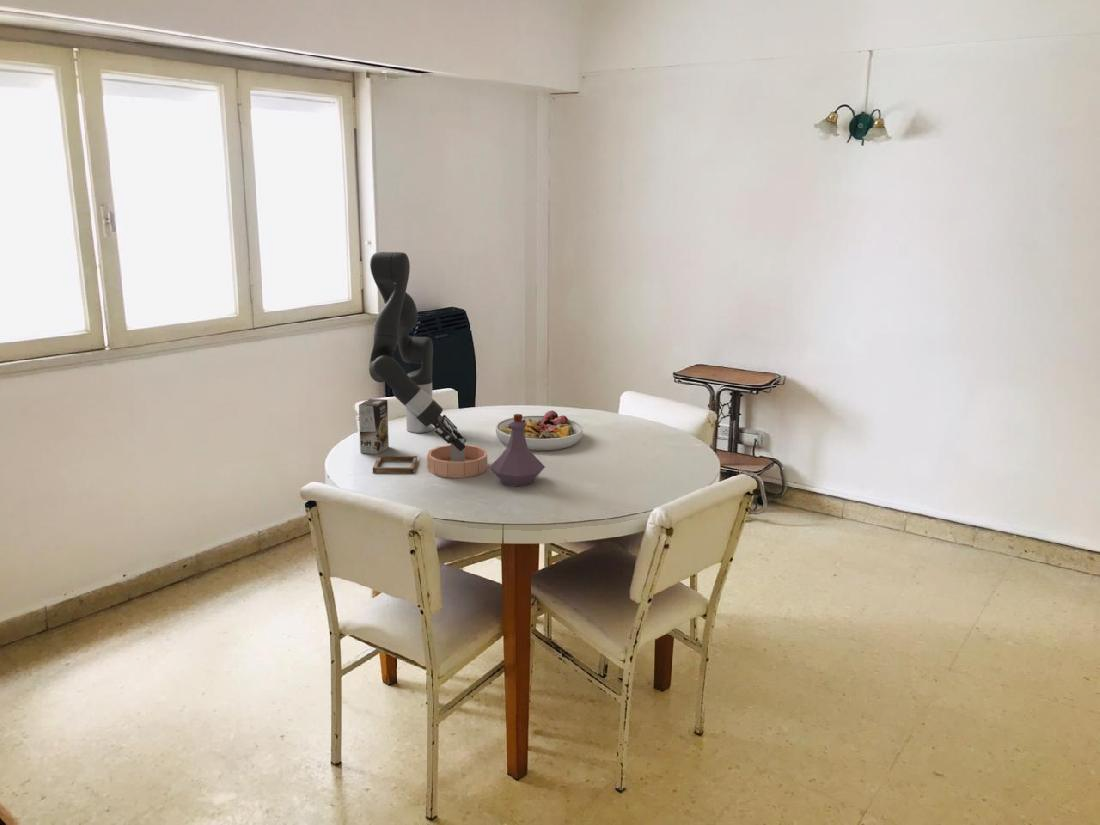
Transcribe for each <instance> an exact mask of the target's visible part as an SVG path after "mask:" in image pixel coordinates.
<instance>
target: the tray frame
mask: <svg viewBox="0 0 1100 825" xmlns="http://www.w3.org/2000/svg"><path fill="white" fill-rule="evenodd" d="M418 459H419V458H418V455H378V457H377V459H376V461H375V462H374V465H373V467H372V474H414V472H415V470H416V468H417V467H416V466H417V464H418V461H419V460H418ZM382 462H395V463H396V462H399V463H400V462H403V463H404V462H408V463H409V462H411V464H410V466H409V467H406V466H405V467H401V466H400V467H399V466H398V467H397V466H396V467H395V466H393V467H392V466H391V467H387V466H382V467H381V466H380V465H381V464H382Z"/></svg>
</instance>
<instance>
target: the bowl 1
mask: <svg viewBox="0 0 1100 825" xmlns="http://www.w3.org/2000/svg"><path fill="white" fill-rule="evenodd" d="M488 452H489V451H488V450H486V449H484V448H483V447H481V446H477V445H472V444H465V461H464V462H453V461H451V444H447V445H446V444H445V445H440V446H436V447H434V448H432V449H430V450H428V452H427V455H426V456H427V458H426V459H427V470H428V472H429V473H431V474H432V475H434V476H438V477H442V478H446V479H447V478H448V479H449V478H451V479H465V478H473V477H476V476H479V475H482V474H484V473H486V472H487V471H488V463H489V462H488V457H489V456H488V454H489V453H488Z"/></svg>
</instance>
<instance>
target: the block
mask: <svg viewBox="0 0 1100 825" xmlns="http://www.w3.org/2000/svg"><path fill="white" fill-rule="evenodd" d="M465 439H466V438H465ZM465 439H459V440H460V441H461V442H462V443H463V444H464V445H466V442H465ZM449 445H451V461H453V462H464V461H465V448H464V449H463V450H462V451H459V450H458V449H457V448H456V447H455V446H454V445H453V444H452V443H450V444H449Z"/></svg>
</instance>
